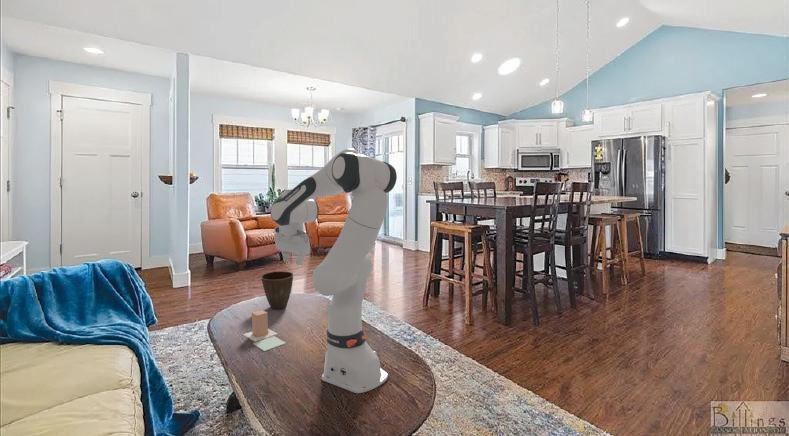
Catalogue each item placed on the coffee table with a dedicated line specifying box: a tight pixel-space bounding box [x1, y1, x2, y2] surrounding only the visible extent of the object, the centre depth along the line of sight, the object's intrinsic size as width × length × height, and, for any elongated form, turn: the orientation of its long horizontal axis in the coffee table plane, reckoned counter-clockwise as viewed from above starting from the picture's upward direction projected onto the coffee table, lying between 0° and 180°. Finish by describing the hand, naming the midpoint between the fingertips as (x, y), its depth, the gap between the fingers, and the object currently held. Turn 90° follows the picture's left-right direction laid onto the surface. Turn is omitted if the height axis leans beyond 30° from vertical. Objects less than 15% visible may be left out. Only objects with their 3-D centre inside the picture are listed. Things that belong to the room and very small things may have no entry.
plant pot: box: [261, 271, 294, 310], centre depth 188 cm, size 15×15×16 cm
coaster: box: [252, 335, 287, 352], centre depth 148 cm, size 9×9×1 cm
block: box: [251, 309, 269, 337], centre depth 156 cm, size 4×4×9 cm
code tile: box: [242, 328, 278, 343], centre depth 157 cm, size 10×10×1 cm
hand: (292, 262), depth 157 cm, fingers open, 8 cm apart
